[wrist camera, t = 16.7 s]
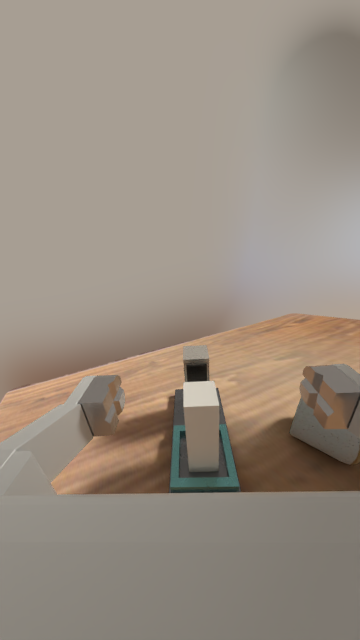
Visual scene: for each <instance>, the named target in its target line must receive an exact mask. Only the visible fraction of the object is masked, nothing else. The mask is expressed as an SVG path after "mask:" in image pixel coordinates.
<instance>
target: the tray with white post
mask: <svg viewBox="0 0 360 640" xmlns="http://www.w3.org/2000/svg"><path fill="white" fill-rule="evenodd" d="M183 362H184V375H185V382H200V381H209V356H208V351H207V346H206V345H203V346H184V348H183ZM216 392H217V397H218V401H219V471H210V472H189V465H188V453H187V442H186V430H185V419H184V407H183V389H178V390H175V405H174V421H173V437H172V453H171V468H170V484H169V493H223V492H241V489H240V484H239V480H238V475H237V471H236V466H235V462H234V457H233V453H232V448H231V444H230V440H229V435H228V431H227V426H226V422H225V417H224V413H223V408H222V404H221V399H220V395H219V390H218V388H216Z"/></svg>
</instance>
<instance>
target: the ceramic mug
mask: <svg viewBox="0 0 360 640" xmlns="http://www.w3.org/2000/svg"><path fill="white" fill-rule="evenodd" d="M313 412H314V409H312V408H311V407H309V406H307V405H306V403H305V402H304V401H303V399H302V396H301V399H300V402H299V404H298V407H297V410H296V413H295V416H294V420H293V423H292V426H291V429H290V432H289V433H290V435H292V436H294V437H296V438H298V439H300V440H301V441H303V442H305V443H307V444H309V445H311V446H313V447H314V448H316V449H318V450H320V451H322V452H324V453H326V454H328V455H329V456H331V457H333V458H335V459H337V460H339V461H341V462H344V463H346V464H349V465H356V464H359V462H360V439H359V438H358V437H357V436H355V435H354V434H352V433H351V432H350V431H348V429H324V428H323V427H322V425H321V424H320V423H319V421H318V420H317V419H316V417H315V416H314V415H313Z"/></svg>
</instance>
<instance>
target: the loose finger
mask: <svg viewBox="0 0 360 640" xmlns="http://www.w3.org/2000/svg"><path fill="white" fill-rule="evenodd" d="M183 407H184V419H185V430H186V442H187V453H188V465H189V472H210V471H219V401H218V397H217V392H216V387H215V383H214V381H200V382H184V385H183Z"/></svg>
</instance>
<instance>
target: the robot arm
mask: <svg viewBox="0 0 360 640" xmlns="http://www.w3.org/2000/svg"><path fill="white" fill-rule="evenodd" d="M303 375H304V377H305V379H304V380H303V381H302V382H301V384H300V393H301V396H302V399H303V401H304V402H305V403H306V405H307V406H309V407H311V408H312V409H314V412H313V415H314V416H315V417H316V419H317V420H318V421H319V423H320V424H321V425H322V427H323V428H324V429H348V431H350V432H351V433H352V434H354V435H355V436H357V437H358V438H359V439H360V374H359V373H357V372H356V371H355V370H353V369H352V368H351V367H350V366H348V365H345V364H335V365H323V366H306V367H305V368H304V370H303ZM121 383H122V382H121V378H120V376H118V375H106V376H86V377H84V378H83V379H82V380H81V382H80V383H79V384H78V386H77V387H76V388H75V390H74V391H73V392H72V394H71V395H70V396H69V398H68V399H67V401H66V402H65V403H64V404H63V405H59V406H57V407H56V408H54V409H52V410H51V411H49V412H48V413H46V414H45V415H43V416H42V417H40V418H38V419H37V420H35V421H34V422H32V423H31V424H29V425H28V426H26V427H24V428H23V429H21V430H20V431H18V432H17V433H15V434H14V435H12V436H10V437H9V438H7V439H6V440H4V441H3V442H1V443H0V640H360V491H305V492H223V493H144V494H62V495H57V493H56V491H55V489H54V488H53V486H52V485H51V482H52V481H53V480H54V479H55V478H56V476H57V475H58V474H59V473H60V472H61V471H62V470H63V469H64V468H65V467H66V466H67V465H68V464H69V463H70V462H71V461H72V460H73V459H74V457H75V456H76V455H77V454H78V453H79V452H80V451H81V450H82V449H83V448H84V447H85V446H86V445H87V444H88V443H89V442H90V441H91V440H92V439H93V436H110V435H114V433H115V430H116V427H117V424H118V422H119V419H118V415H119V414H120V413H121V412H122V411H123V408H124V403H125V394H124V390H123V389H122V388H121V387H120V385H121Z"/></svg>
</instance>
